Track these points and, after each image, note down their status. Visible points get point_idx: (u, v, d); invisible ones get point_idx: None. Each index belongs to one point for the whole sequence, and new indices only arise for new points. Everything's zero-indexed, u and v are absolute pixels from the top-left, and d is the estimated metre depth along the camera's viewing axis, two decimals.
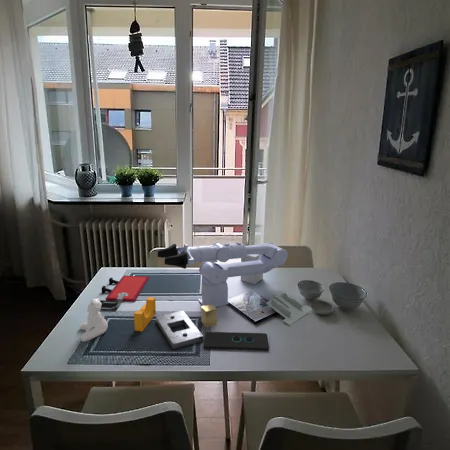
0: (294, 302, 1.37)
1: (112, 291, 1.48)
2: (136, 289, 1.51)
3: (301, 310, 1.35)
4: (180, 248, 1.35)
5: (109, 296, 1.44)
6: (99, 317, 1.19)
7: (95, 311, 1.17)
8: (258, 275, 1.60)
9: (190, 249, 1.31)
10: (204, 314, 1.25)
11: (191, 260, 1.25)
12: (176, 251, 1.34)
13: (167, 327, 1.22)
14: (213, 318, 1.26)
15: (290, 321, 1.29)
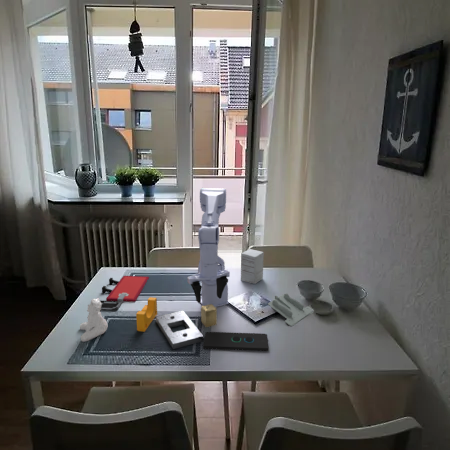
0: (295, 303, 1.37)
1: (112, 291, 1.48)
2: (136, 289, 1.51)
3: (303, 311, 1.35)
4: None
5: (109, 296, 1.44)
6: (99, 317, 1.19)
7: (95, 311, 1.17)
8: (258, 275, 1.60)
9: (215, 273, 1.21)
10: (204, 314, 1.25)
11: None
12: None
13: (167, 327, 1.22)
14: (213, 318, 1.26)
15: (292, 321, 1.28)
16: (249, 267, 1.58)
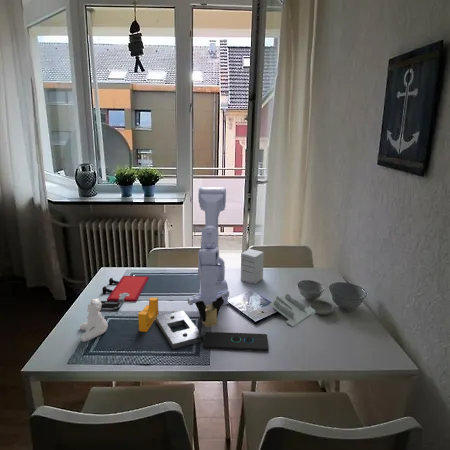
0: (297, 303, 1.36)
1: (113, 291, 1.48)
2: (137, 289, 1.51)
3: (304, 311, 1.35)
4: None
5: (110, 296, 1.44)
6: (99, 317, 1.19)
7: (95, 311, 1.17)
8: (258, 275, 1.60)
9: (215, 294, 1.23)
10: None
11: None
12: None
13: (167, 327, 1.22)
14: (213, 318, 1.26)
15: (293, 322, 1.28)
16: (249, 267, 1.58)
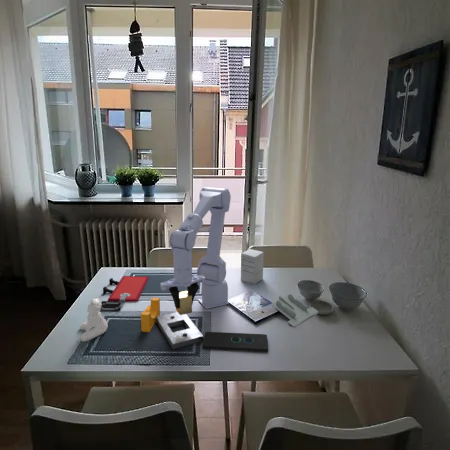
0: (299, 303, 1.36)
1: (114, 292, 1.48)
2: (137, 289, 1.51)
3: (306, 312, 1.34)
4: None
5: (111, 297, 1.44)
6: (99, 317, 1.19)
7: (95, 311, 1.17)
8: (258, 275, 1.60)
9: (189, 279, 1.17)
10: None
11: (204, 279, 1.22)
12: None
13: (167, 327, 1.22)
14: (188, 305, 1.20)
15: (295, 322, 1.28)
16: (249, 267, 1.58)
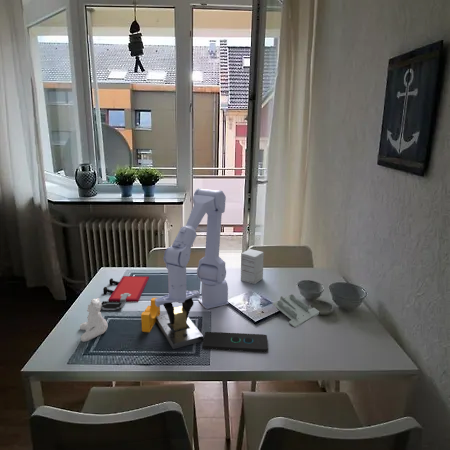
0: (301, 304, 1.36)
1: (114, 292, 1.48)
2: (138, 289, 1.51)
3: (308, 312, 1.34)
4: None
5: (112, 297, 1.43)
6: (99, 317, 1.19)
7: (95, 311, 1.17)
8: (258, 275, 1.60)
9: (184, 295, 1.18)
10: None
11: None
12: (171, 304, 1.19)
13: (167, 327, 1.22)
14: (182, 321, 1.20)
15: (296, 322, 1.28)
16: (249, 267, 1.58)
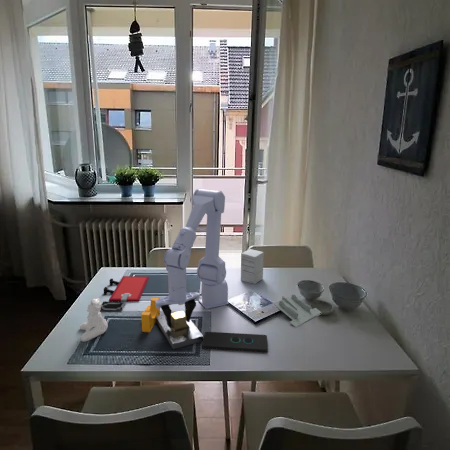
0: (303, 304, 1.36)
1: (114, 292, 1.48)
2: (138, 289, 1.51)
3: (309, 312, 1.34)
4: None
5: (112, 297, 1.43)
6: (99, 317, 1.19)
7: (95, 311, 1.17)
8: (258, 275, 1.60)
9: (184, 297, 1.18)
10: (173, 322, 1.20)
11: None
12: (168, 306, 1.19)
13: (167, 327, 1.22)
14: (182, 325, 1.21)
15: (297, 323, 1.28)
16: (249, 267, 1.58)
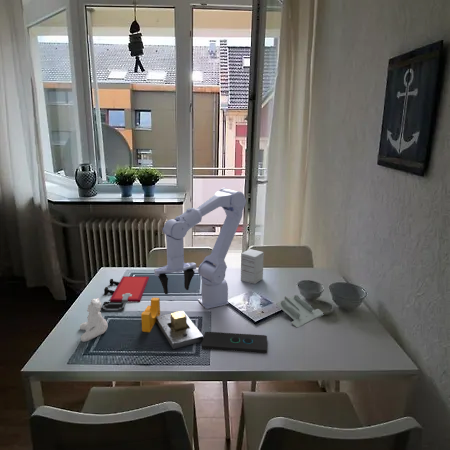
0: (305, 304, 1.36)
1: (115, 292, 1.47)
2: (139, 289, 1.51)
3: (312, 313, 1.34)
4: None
5: (113, 297, 1.43)
6: (99, 317, 1.19)
7: (95, 311, 1.17)
8: (258, 275, 1.60)
9: (181, 265, 1.26)
10: (173, 322, 1.20)
11: (195, 266, 1.31)
12: (165, 275, 1.27)
13: (167, 327, 1.22)
14: (182, 325, 1.21)
15: (298, 323, 1.27)
16: (249, 267, 1.58)
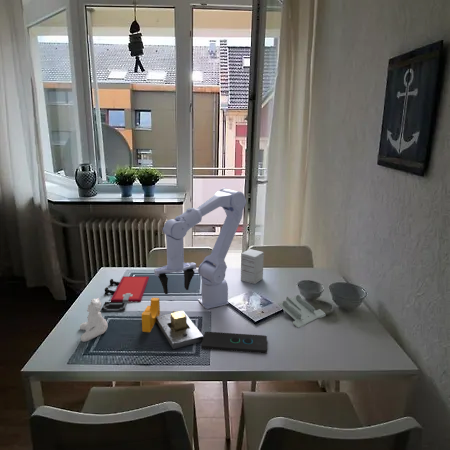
0: (307, 305, 1.35)
1: (115, 292, 1.47)
2: (139, 289, 1.51)
3: (313, 313, 1.33)
4: None
5: (114, 297, 1.43)
6: (99, 317, 1.19)
7: (95, 311, 1.17)
8: (258, 275, 1.60)
9: (181, 265, 1.26)
10: (173, 322, 1.20)
11: (195, 266, 1.31)
12: (165, 274, 1.27)
13: (167, 327, 1.22)
14: (182, 325, 1.21)
15: (299, 323, 1.27)
16: (249, 267, 1.58)
